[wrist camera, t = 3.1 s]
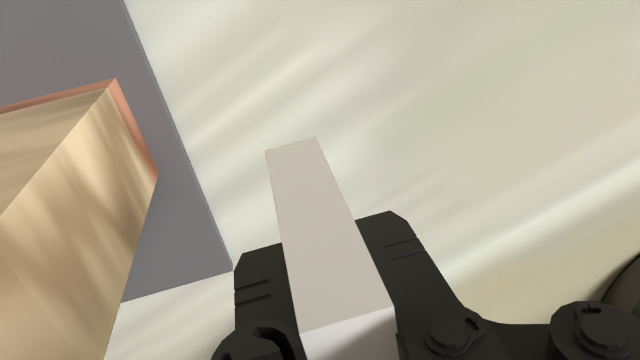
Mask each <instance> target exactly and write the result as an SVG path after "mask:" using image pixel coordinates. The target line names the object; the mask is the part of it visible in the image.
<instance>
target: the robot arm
mask: <svg viewBox="0 0 640 360" xmlns="http://www.w3.org/2000/svg"><path fill="white" fill-rule="evenodd" d="M265 155H266V160H267V165H268V171H269V176H270V181H271V187H272V192H273V197H274V203H275V208H276V213H277V219H278V224H279V229H280V235H281V240H282V242H281V243H278V244H274V245H271V246H267V247H264V248H260V249H257V250H253V251H249V252H246V253H242V255H241V257H240V259H239V262H238V264H237V266H236V268H235V270H234V290H235V293H234V299H235V330H234V331H233V332H232V333H231V334H230V335H229V336H227V337H226V338H225V339H224V340H223V341H222V342H221V343H220V345H219V346H218V348H217V349H216V351H215V352H214V354H213V355H212V359H211V360H640V257H639V258H638V259H637V260H636V261H635V262H634V263H632V264H631V265H630V266H629V267H628V268H627V269H626V270H625V271H624V272H623V273H622V275H621V276H620V277H619V278H618V279H617V280H616V282H615V283H614V284H613V286H612V287H611V288H610V290H609V291H608V293H607V295H606V296H605V298H604V300H603V302H602V303H600V302H596V301H575V302H573V303H570V304H567V305H564V306H561V307H560V308H559V309H558V310H557V311H556V312H555V313H554V314H553V315H552V317H551V322H550V324H503V323H497V322H493V321H489V320H486V319H484V318H482V317H481V316H480V315H479V314H478V313H476V312H474V311H472V310H470V309H468V308H466V307H464V306H463V305H462V303H461V302H460V301H459V300H458V299H457V297H456V296H455V294H454V293H453V291H452V290H451V288H450V286H449V285H448V283H447V282H446V280H445V279H444V277H443V276H442V274H441V273H440V271H439V270H438V268H437V266H436V265H435V263H434V262H433V260H432V259H431V257H430V256H429V254H428V253H427V251H425V249H424V247H423V245H422V243H421V242H420V240H419V239H418V238H417V237H416V234H415V233H414V231H413V230H412V228H411V227H410V225H409V223H408V222H407V221H406V220H405V219H403V218H402V217H400V216H398V215H397V214H395V213H393V212H392V211H386V212H383V213H379V214H375V215H372V216H368V217H365V218H361V219H358V220H354V219H353V217H352V214H351V212H350V210H349V208H348V206H347V204H346V202H345V199H344V197H343V195H342V193H341V191H340V189H339V186H338V184H337V182H336V180H335V178H334V176H333V173H332V171H331V169H330V167H329V165H328V163H327V160H326V158H325V156H324V154H323V152H322V150H321V147H320V145H319V143H318V141H317V139H316V137H314V138H310V139H306V140H303V141H299V142H295V143H291V144H288V145H284V146H280V147H276V148H273V149H269V150H265Z"/></svg>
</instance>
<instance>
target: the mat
mask: <svg viewBox="0 0 640 360" xmlns="http://www.w3.org/2000/svg"><path fill="white" fill-rule="evenodd" d="M112 78H116V80H117V82H118V84H119V86H120V88H121V91H122V93H123V95H124V97H125V99H126V101H127V104H128V106H129V108H130V110H131V112H132V114H133V116H134V119H135V121H136V123H137V125H138V127H139V129H140V132H141V134H142V136H143V138H144V140H145V142H146V144H147V147H148V149H149V151H150V153H151V155H152V157H153V160H154V162H155V164H156V166H157V168H158V170H159V174H158V178H157V181H156V184H155V188H154V191H153V194H152V198H151V201H150V204H149V208H148V211H147V215H146V218H145V221H144V225H143V228H142V231H141V235H140V238H139V242H138V245H137V248H136V252H135V255H134V258H133V262H132V265H131V269H130V272H129V275H128V279H127V282H126V285H125V289H124V292H123V295H122V299H121V302H120V303H122V302H126V301H129V300H133V299H136V298H140V297H143V296H147V295H150V294H154V293H157V292H161V291H164V290H168V289H171V288H175V287H178V286H182V285H185V284H188V283H192V282H195V281H199V280H202V279H206V278H209V277H213V276H216V275H220V274H223V273H227V272H230V271H233V264H232V262H231V259H230V257H229V254H228V252H227V250H226V247H225V245H224V242H223V240H222V238H221V235H220V233H219V230H218V228H217V225H216V223H215V221H214V218H213V216H212V213H211V211H210V209H209V206H208V204H207V201H206V199H205V196H204V194H203V192H202V189H201V187H200V184H199V182H198V180H197V177H196V175H195V172H194V170H193V167H192V165H191V163H190V160H189V158H188V155H187V153H186V151H185V148H184V146H183V143H182V141H181V138H180V136H179V134H178V131H177V129H176V126H175V124H174V122H173V119H172V117H171V114H170V112H169V109H168V107H167V105H166V102H165V100H164V97H163V95H162V93H161V90H160V88H159V85H158V83H157V80H156V78H155V76H154V73H153V71H152V68H151V66H150V64H149V61H148V59H147V56H146V54H145V51H144V49H143V47H142V44H141V42H140V39H139V37H138V34H137V32H136V30H135V27H134V25H133V22H132V20H131V18H130V15H129V13H128V10H127V8H126V5H125V3H124V1H123V0H0V108H1V107H3V106H6V105H9V104H13V103H17V102H21V101H25V100H29V99H33V98H37V97H41V96H45V95H49V94H53V93H57V92H61V91H65V90H69V89H73V88H76V87H80V86H84V85H88V84H92V83H96V82H100V81H104V80H108V79H112Z"/></svg>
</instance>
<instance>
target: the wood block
mask: <svg viewBox="0 0 640 360" xmlns="http://www.w3.org/2000/svg"><path fill="white" fill-rule="evenodd" d="M158 174H159V170H158V168H157V166H156V164H155V162H154V160H153V157H152V155H151V153H150V151H149V149H148V147H147V144H146V142H145V140H144V138H143V136H142V134H141V132H140V129H139V127H138V125H137V123H136V121H135V119H134V116H133V114H132V112H131V110H130V108H129V106H128V104H127V101H126V99H125V97H124V95H123V93H122V91H121V88H120V86H119V84H118V82H117V80H116V78H112V79H108V80H104V81H100V82H96V83H92V84H88V85H84V86H80V87H76V88H73V89H69V90H65V91H61V92H57V93H53V94H49V95H45V96H41V97H37V98H33V99H29V100H25V101H21V102H17V103H13V104H9V105H6V106H3V107H1V108H0V360H103V359H104V356H105V353H106V349H107V346H108V343H109V339H110V336H111V333H112V329H113V326H114V322H115V319H116V316H117V312H118V309H119V306H120V302H121V299H122V295H123V292H124V289H125V285H126V282H127V279H128V275H129V272H130V269H131V265H132V262H133V258H134V255H135V252H136V248H137V245H138V242H139V238H140V235H141V231H142V228H143V225H144V221H145V218H146V215H147V211H148V208H149V204H150V201H151V198H152V194H153V191H154V188H155V184H156V181H157V178H158Z"/></svg>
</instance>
